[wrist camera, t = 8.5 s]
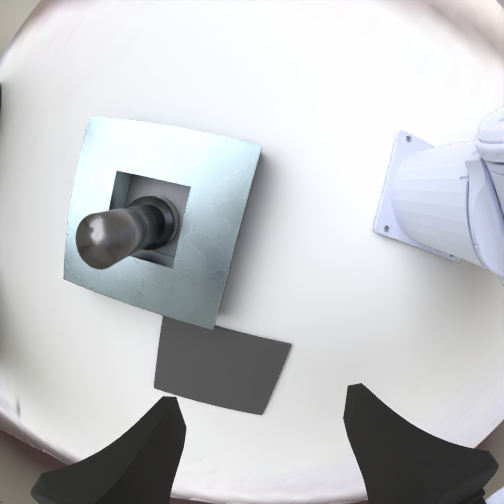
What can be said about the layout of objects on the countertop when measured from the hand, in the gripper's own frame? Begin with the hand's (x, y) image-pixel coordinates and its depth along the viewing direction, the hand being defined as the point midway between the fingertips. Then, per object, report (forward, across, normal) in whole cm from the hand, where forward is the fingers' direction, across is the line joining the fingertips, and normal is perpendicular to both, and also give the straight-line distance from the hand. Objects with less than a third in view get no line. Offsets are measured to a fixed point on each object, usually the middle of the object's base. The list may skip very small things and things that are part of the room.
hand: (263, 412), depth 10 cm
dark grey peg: (+10, +7, -7) cm, 15 cm away
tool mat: (+10, +4, +5) cm, 12 cm away
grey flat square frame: (+10, +7, -8) cm, 15 cm away
